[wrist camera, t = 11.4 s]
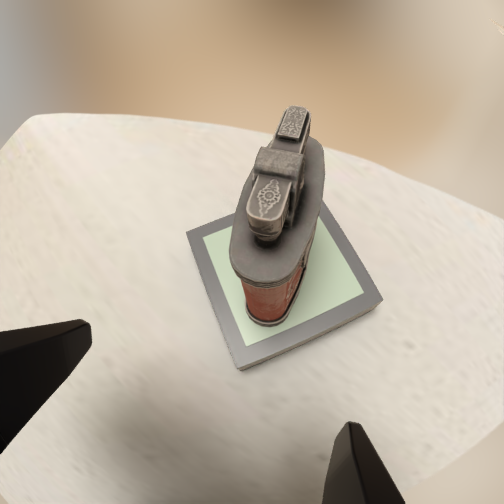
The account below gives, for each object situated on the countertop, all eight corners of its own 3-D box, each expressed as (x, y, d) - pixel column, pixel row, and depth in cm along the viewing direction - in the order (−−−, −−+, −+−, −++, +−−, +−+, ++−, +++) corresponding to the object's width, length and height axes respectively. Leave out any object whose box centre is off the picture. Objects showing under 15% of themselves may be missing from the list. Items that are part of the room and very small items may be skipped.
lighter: (289, 333, 17) (308, 261, 8) (234, 318, 18) (194, 233, 9) (317, 221, 20) (340, 99, 11) (270, 210, 21) (266, 87, 12)
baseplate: (374, 308, 19) (383, 299, 17) (240, 370, 18) (236, 368, 16) (309, 200, 24) (312, 184, 22) (192, 245, 22) (185, 231, 21)
